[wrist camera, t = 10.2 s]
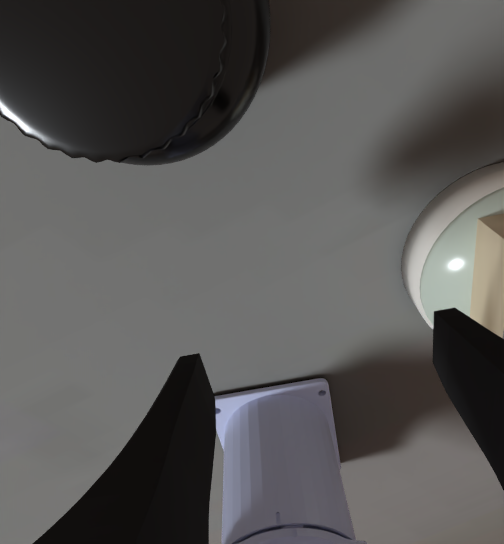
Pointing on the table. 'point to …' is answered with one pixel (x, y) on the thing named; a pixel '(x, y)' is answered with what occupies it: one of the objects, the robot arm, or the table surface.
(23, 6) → the supplement bottle
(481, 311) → the block
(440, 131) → the table surface
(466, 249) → the stand
